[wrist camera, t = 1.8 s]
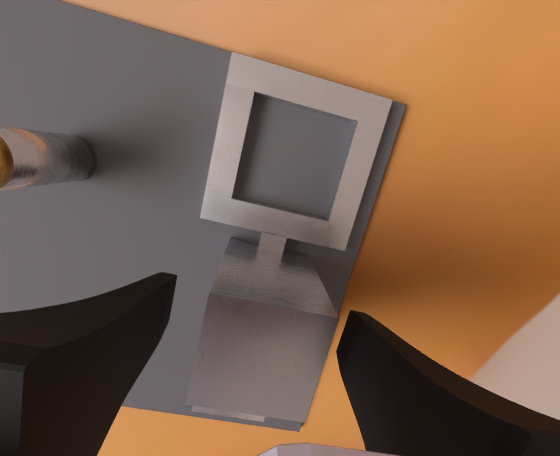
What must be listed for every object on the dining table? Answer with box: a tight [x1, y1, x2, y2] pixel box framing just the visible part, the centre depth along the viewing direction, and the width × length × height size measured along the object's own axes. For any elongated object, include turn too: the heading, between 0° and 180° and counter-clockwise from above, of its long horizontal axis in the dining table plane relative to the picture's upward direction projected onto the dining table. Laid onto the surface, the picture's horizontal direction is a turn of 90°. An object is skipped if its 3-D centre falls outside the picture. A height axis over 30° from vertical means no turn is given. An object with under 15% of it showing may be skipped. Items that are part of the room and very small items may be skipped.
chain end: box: [185, 52, 393, 422], centre depth 12 cm, size 18×7×6 cm, turn 166°
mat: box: [0, 0, 406, 432], centre depth 14 cm, size 19×19×1 cm
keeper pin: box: [0, 126, 97, 191], centre depth 10 cm, size 2×2×5 cm
